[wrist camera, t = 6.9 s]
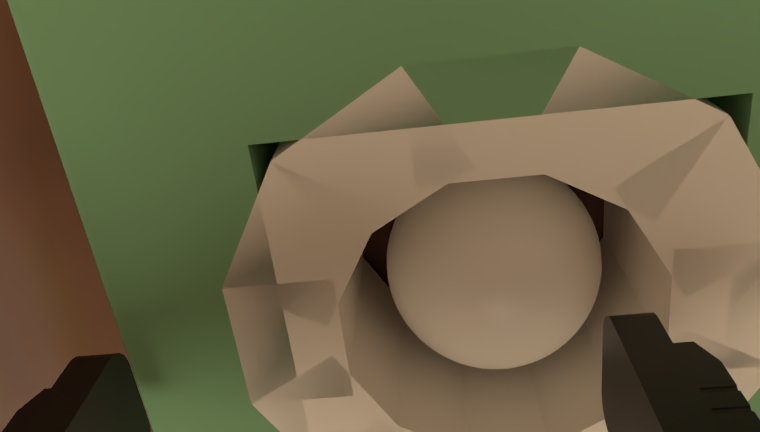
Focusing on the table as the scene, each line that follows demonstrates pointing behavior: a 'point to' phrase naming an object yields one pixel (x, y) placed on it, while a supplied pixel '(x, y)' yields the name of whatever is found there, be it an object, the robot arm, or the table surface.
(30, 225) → the table surface
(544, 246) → the ball
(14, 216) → the table surface
